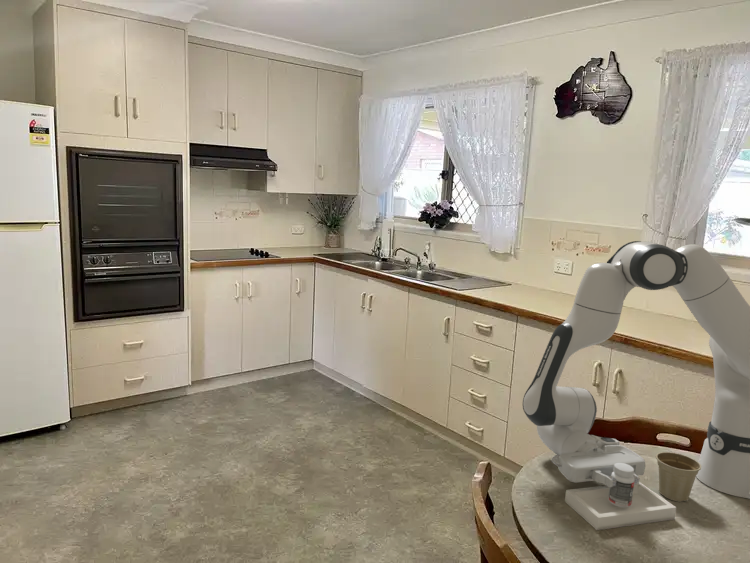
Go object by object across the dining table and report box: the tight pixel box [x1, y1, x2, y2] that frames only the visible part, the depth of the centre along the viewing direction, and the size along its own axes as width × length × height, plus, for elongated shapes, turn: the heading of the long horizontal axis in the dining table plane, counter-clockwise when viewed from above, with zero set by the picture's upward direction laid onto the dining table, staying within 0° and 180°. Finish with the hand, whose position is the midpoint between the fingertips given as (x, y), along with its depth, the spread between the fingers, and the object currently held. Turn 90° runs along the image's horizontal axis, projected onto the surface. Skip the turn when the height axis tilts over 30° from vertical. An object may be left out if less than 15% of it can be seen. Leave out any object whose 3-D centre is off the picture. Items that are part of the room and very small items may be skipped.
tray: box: [564, 481, 677, 531], centre depth 123 cm, size 20×11×3 cm, turn 106°
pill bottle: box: [608, 463, 635, 508], centre depth 122 cm, size 5×5×8 cm
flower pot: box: [655, 451, 701, 503], centre depth 130 cm, size 9×9×9 cm
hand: (625, 482), depth 121 cm, fingers closed on pill bottle, 5 cm apart
